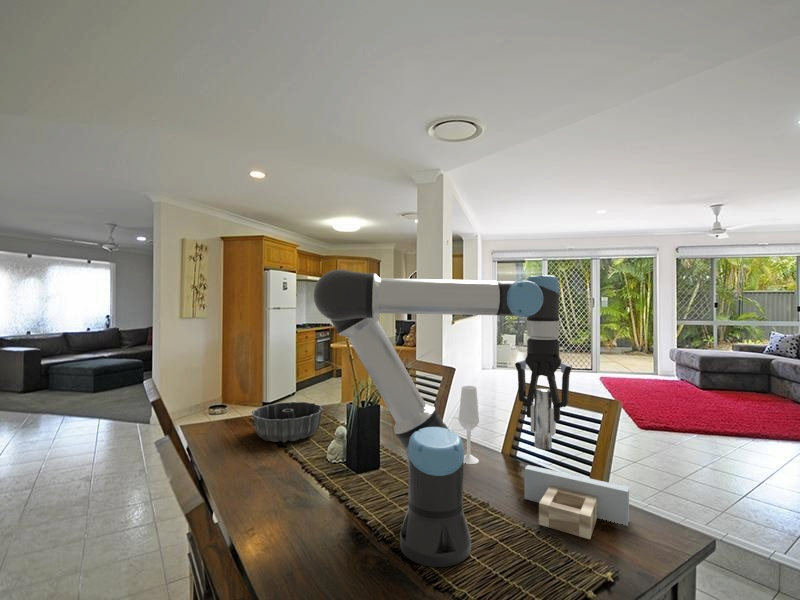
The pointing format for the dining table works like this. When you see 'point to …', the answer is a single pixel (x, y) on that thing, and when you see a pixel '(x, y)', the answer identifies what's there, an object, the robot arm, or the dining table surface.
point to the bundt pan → (287, 421)
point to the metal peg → (543, 419)
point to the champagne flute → (469, 417)
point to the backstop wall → (580, 491)
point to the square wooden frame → (568, 511)
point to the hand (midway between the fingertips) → (543, 432)
